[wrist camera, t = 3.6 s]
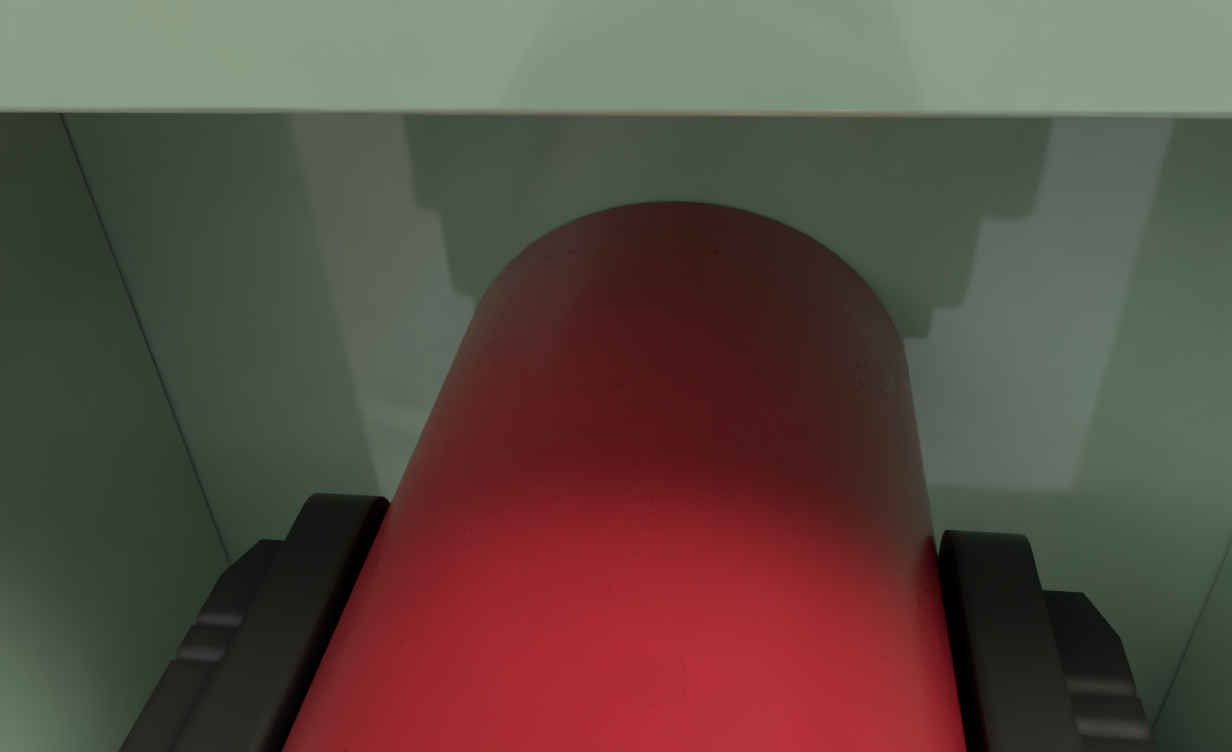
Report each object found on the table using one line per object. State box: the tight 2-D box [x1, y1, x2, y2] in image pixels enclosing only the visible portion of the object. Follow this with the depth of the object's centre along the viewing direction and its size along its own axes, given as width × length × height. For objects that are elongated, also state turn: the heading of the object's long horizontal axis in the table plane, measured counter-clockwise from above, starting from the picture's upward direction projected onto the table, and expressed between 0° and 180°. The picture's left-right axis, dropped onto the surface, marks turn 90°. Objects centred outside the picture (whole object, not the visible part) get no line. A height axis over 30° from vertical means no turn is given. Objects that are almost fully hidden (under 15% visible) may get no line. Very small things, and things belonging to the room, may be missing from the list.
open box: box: [0, 0, 1232, 752], centre depth 11 cm, size 14×16×6 cm
